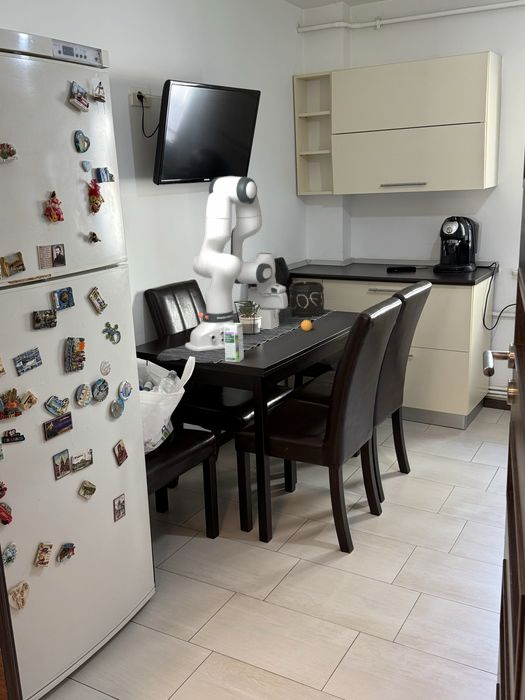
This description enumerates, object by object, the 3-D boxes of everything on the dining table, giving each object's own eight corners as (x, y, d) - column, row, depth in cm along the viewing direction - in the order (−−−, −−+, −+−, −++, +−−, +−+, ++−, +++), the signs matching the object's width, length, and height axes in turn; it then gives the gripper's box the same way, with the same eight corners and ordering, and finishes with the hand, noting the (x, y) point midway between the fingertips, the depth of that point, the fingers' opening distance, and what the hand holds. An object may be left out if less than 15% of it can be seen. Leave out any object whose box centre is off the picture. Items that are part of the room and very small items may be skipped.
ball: (304, 332, 305) (304, 321, 304) (299, 330, 310) (298, 319, 308) (314, 330, 308) (313, 320, 306) (308, 329, 312) (308, 318, 311)
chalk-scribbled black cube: (314, 319, 333) (313, 287, 329) (283, 316, 342) (282, 285, 338) (331, 312, 347) (331, 282, 343) (301, 310, 357) (300, 280, 353)
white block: (270, 330, 313) (270, 311, 311) (257, 328, 317) (256, 310, 315) (278, 326, 319) (278, 308, 317) (265, 325, 323) (264, 307, 321)
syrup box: (225, 361, 262) (222, 325, 259) (231, 357, 268) (229, 321, 264) (238, 362, 260) (236, 325, 257) (244, 358, 266) (242, 322, 262)
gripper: (244, 287, 316) (245, 316, 319) (282, 289, 306) (283, 319, 309) (251, 285, 321) (252, 314, 325) (288, 287, 311) (289, 317, 314)
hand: (267, 317), depth 317 cm, fingers closed on white block, 7 cm apart
